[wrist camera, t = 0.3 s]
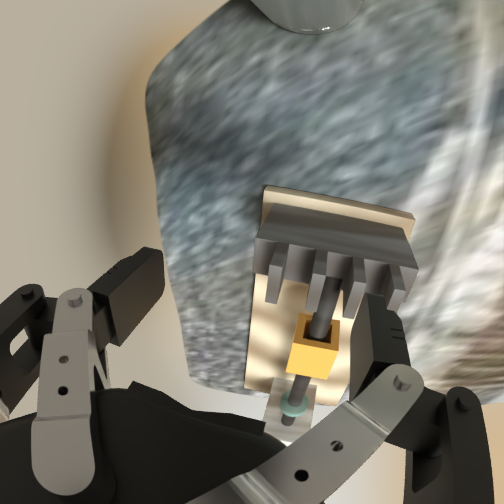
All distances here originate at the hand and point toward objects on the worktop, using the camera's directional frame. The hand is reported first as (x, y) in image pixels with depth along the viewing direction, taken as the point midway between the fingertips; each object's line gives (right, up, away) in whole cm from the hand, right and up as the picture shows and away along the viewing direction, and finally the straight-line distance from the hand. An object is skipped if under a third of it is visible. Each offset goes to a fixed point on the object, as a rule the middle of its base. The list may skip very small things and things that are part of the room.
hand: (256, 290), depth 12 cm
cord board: (+7, -6, +23) cm, 25 cm away
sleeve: (+6, -6, +16) cm, 18 cm away
